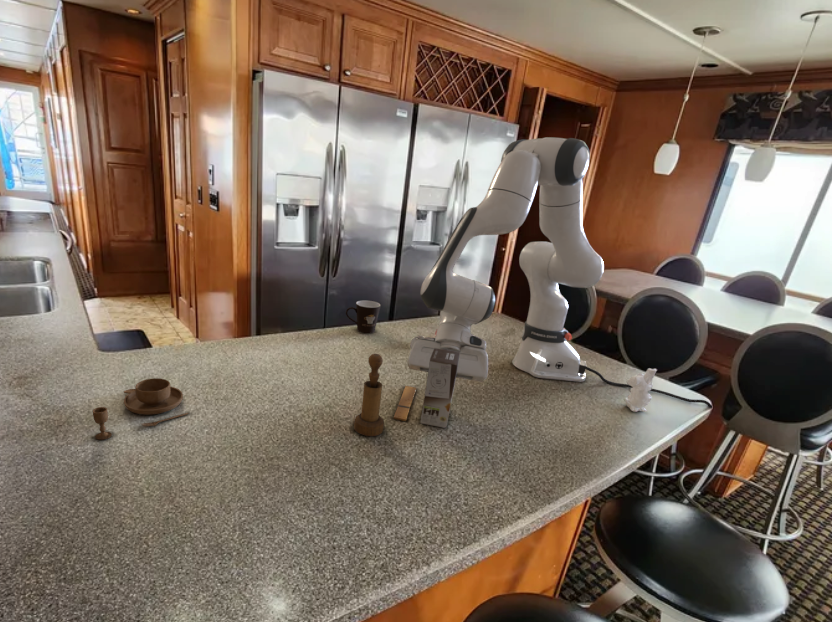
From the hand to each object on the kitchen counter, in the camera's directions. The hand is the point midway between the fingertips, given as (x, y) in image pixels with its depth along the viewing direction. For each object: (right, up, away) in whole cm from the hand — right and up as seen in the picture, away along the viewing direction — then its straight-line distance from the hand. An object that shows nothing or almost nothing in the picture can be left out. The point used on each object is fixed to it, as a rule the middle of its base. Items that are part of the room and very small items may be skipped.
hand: (442, 390), depth 113 cm
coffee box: (-2, -6, -3) cm, 7 cm away
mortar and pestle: (-18, -8, -11) cm, 23 cm away
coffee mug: (-22, +17, +52) cm, 59 cm away
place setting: (-69, -3, -13) cm, 70 cm away
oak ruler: (-9, -3, +2) cm, 10 cm away
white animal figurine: (+55, -6, +13) cm, 56 cm away
